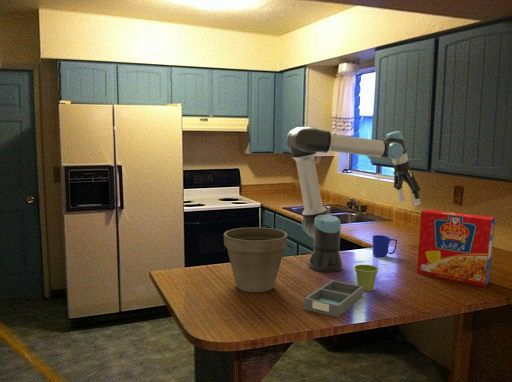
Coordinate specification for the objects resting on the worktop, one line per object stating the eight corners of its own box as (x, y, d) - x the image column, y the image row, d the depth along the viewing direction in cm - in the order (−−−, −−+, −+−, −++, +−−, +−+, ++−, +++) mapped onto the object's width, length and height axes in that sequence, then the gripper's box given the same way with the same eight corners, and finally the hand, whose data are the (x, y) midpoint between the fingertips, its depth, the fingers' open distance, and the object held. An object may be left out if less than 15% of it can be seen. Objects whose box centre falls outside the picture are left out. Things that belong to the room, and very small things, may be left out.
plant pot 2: (363, 294, 178) (365, 272, 177) (348, 286, 187) (349, 265, 185) (382, 291, 183) (383, 269, 182) (366, 283, 191) (367, 263, 190)
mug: (396, 259, 230) (398, 239, 228) (371, 257, 232) (372, 238, 231) (395, 255, 238) (396, 236, 236) (371, 253, 240) (372, 234, 239)
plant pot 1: (209, 286, 182) (210, 232, 180) (250, 273, 201) (251, 224, 198) (258, 302, 167) (260, 243, 164) (298, 286, 185) (300, 233, 183)
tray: (303, 309, 161) (303, 298, 161) (331, 290, 182) (332, 280, 182) (337, 317, 155) (338, 306, 154) (362, 296, 176) (363, 286, 175)
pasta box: (416, 272, 208) (421, 211, 205) (422, 269, 214) (427, 209, 211) (484, 286, 191) (490, 220, 188) (489, 282, 198) (495, 217, 194)
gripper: (421, 161, 217) (431, 204, 221) (394, 159, 242) (403, 197, 245) (407, 166, 216) (417, 209, 220) (381, 163, 240) (390, 202, 244)
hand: (410, 203), depth 232 cm, fingers open, 13 cm apart
